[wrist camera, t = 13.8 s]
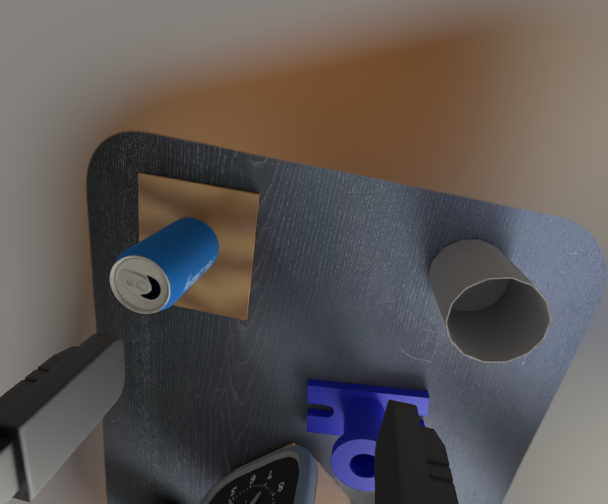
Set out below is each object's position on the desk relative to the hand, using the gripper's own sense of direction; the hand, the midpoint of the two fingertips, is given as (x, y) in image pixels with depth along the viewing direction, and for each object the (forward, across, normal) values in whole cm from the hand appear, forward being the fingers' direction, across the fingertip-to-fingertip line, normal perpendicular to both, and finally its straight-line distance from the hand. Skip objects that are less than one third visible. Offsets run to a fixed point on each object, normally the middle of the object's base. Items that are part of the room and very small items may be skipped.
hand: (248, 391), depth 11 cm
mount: (+32, -9, +28) cm, 43 cm away
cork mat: (+32, +15, +10) cm, 37 cm away
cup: (+32, -16, +7) cm, 37 cm away
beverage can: (+32, +15, +9) cm, 36 cm away
